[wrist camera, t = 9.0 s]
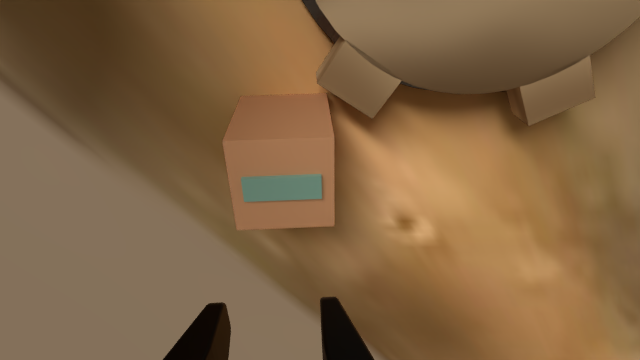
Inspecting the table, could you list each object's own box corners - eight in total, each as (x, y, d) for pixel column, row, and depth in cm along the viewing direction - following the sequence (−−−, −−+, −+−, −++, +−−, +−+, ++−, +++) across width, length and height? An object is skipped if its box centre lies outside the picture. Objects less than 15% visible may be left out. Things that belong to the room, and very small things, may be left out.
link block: (250, 170, 20) (236, 233, 16) (240, 95, 18) (221, 143, 14) (327, 167, 20) (335, 229, 16) (326, 92, 18) (334, 139, 14)
